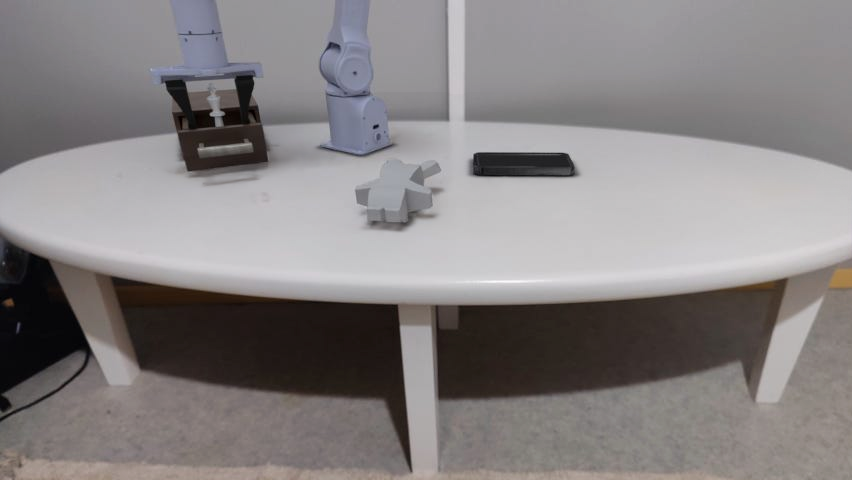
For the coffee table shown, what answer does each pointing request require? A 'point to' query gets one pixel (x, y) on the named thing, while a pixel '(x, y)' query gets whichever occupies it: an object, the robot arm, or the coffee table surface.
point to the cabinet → (203, 107)
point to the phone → (522, 163)
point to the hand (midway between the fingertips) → (221, 130)
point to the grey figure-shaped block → (397, 190)
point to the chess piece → (215, 106)
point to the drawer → (222, 142)
